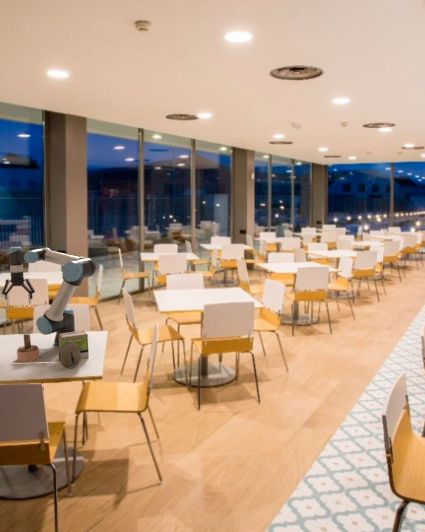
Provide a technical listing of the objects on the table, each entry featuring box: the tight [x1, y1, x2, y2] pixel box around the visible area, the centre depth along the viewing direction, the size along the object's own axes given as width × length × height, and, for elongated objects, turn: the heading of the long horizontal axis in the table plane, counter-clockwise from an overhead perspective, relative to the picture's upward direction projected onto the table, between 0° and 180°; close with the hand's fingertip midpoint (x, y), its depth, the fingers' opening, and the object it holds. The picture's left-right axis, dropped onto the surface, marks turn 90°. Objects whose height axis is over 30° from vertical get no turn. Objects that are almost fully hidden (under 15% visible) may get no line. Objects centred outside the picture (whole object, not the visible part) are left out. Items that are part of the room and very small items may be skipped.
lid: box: [17, 333, 39, 352], centre depth 322 cm, size 11×11×9 cm
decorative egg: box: [58, 341, 81, 369], centre depth 305 cm, size 12×12×15 cm
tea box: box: [58, 330, 90, 360], centre depth 323 cm, size 15×10×15 cm, turn 117°
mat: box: [39, 347, 52, 355], centre depth 336 cm, size 11×11×1 cm
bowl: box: [16, 347, 40, 362], centre depth 323 cm, size 12×12×6 cm
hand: (19, 304), depth 348 cm, fingers open, 13 cm apart
